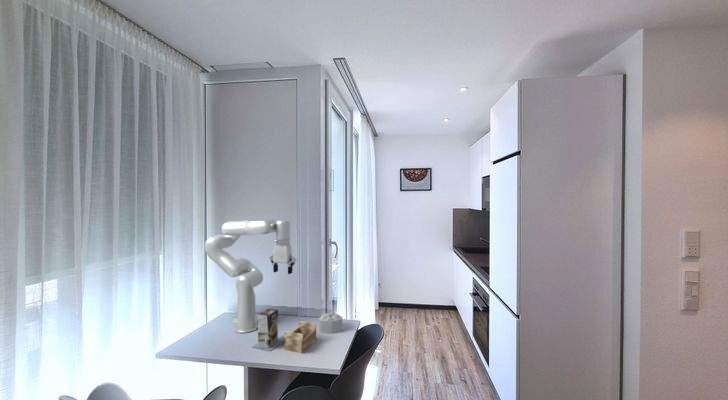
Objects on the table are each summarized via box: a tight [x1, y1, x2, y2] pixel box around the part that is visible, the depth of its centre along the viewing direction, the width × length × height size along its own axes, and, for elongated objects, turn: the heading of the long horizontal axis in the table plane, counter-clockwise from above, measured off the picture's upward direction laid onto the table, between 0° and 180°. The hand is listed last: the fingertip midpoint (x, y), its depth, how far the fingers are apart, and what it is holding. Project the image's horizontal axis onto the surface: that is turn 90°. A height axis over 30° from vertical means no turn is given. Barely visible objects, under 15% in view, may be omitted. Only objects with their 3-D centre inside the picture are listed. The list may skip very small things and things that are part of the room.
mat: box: [251, 339, 285, 352], centre depth 151 cm, size 11×11×1 cm
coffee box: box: [257, 308, 279, 348], centre depth 152 cm, size 9×6×16 cm
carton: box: [284, 320, 317, 354], centre depth 151 cm, size 10×13×9 cm
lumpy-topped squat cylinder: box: [318, 311, 343, 335], centre depth 169 cm, size 10×13×9 cm
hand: (282, 272), depth 166 cm, fingers open, 9 cm apart
